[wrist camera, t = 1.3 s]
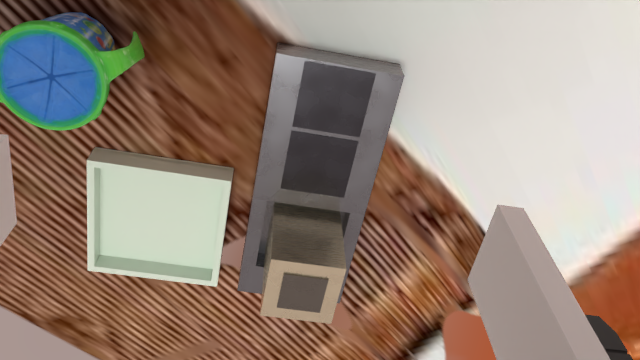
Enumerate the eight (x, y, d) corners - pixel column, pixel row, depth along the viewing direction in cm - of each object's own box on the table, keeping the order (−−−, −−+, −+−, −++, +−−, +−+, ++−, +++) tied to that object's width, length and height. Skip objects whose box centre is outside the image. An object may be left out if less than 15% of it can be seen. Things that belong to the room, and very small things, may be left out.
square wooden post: (265, 247, 57) (260, 316, 49) (274, 196, 54) (271, 260, 46) (326, 256, 57) (331, 325, 50) (339, 205, 54) (346, 270, 47)
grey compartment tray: (239, 273, 59) (237, 291, 57) (277, 42, 47) (276, 53, 44) (337, 286, 60) (339, 303, 58) (399, 64, 48) (404, 76, 46)
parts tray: (94, 254, 57) (87, 270, 55) (94, 146, 51) (86, 160, 49) (219, 270, 59) (216, 286, 57) (233, 167, 52) (231, 181, 50)
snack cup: (142, -13, 44) (116, 16, 38) (164, 84, 48) (145, 124, 42) (-9, 2, 44) (-60, 33, 38) (27, 96, 48) (-14, 138, 42)
